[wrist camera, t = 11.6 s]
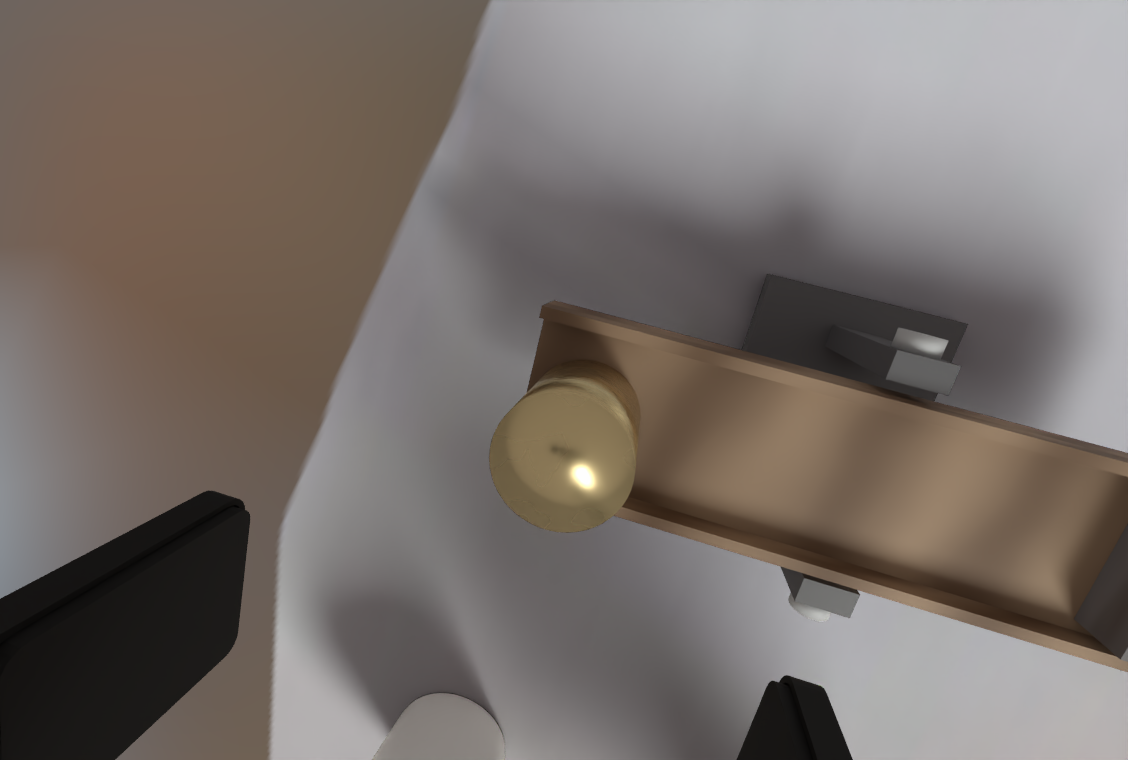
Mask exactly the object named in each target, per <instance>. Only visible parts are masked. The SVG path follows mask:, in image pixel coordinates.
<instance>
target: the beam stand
mask: <svg viewBox="0 0 1128 760" xmlns="http://www.w3.org/2000/svg"><path fill="white" fill-rule="evenodd" d="M967 325H968V324H966V323H962V322H958V321H954V320H950V319H946V318H942V317H938V316H934V315H930V314H926V313H922V312H918V311H914V310H910V309H906V308H902V307H898V306H894V305H890V304H886V303H882V302H878V301H874V300H871V299H867V298H863V297H859V296H855V295H851V294H847V293H843V292H839V291H835V290H831V289H827V288H823V287H819V286H815V285H811V284H807V283H803V282H799V281H795V280H791V279H787V278H783V277H779V276H775V275H771V274H767V277H766V280H765V283H764V286H763V289H762V292H761V295H760V298H759V301H758V304H757V307H756V310H755V313H754V316H753V319H752V322H751V325H750V328H749V331H748V334H747V337H746V340H745V343H744V346H743V349H742V350H743V351H747V352H750V353H754V354H758V355H762V356H765V357H769V358H773V359H777V360H780V361H784V362H788V363H792V364H795V365H799V366H803V367H807V368H810V369H814V370H818V371H822V372H825V373H829V374H833V375H837V376H840V377H844V378H848V379H852V380H855V381H859V382H863V383H867V384H870V385H874V386H878V387H882V388H885V389H889V390H893V391H897V392H900V393H904V394H908V395H912V396H915V397H919V398H923V399H927V400H930V401H935V398H936V396H937V394H938V393H940V394H943V395H947V396H948V395H949V393H950V391H951V389H952V386H953V384H954V382H955V380H956V377H957V375H958V373H959V371H960V368H961V366H958V365H956V364H953V363H951V362H952V360H953V357H954V355H955V353H956V350H957V348H958V346H959V344H960V341H961V339H962V337H963V334H964V332H965V330H966V328H967ZM781 569H782V571H783V574H784V576H785V579H786V581H787V583H788V586H789V588H790V591H791V593H790V596H789V599H788V601H789V603H790V605H791V606H792V607H793V608H794V609H795V610H796V611H797V612H798V613H800V614H801V615H803V616H805V617H806V618H809V619H811V620H814V621H818V622H825V621H827V620H828V619H829V616H830V614H831V613H835V614H838V615H841V616H844V617H848V618H850V616H851V614H852V612H853V610H854V607H855V605H856V603H857V601H858V598H859V596H860V594H859V593H858V591H857V590H856V589H853V588H850V587H846V586H843V585H840V584H837V583H833V582H830V581H827V580H823V579H820V578H817V577H814V576H810V575H807V574H804V573H800V572H797V571H794V570H791V569H787V568H784V567H781Z"/></svg>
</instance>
